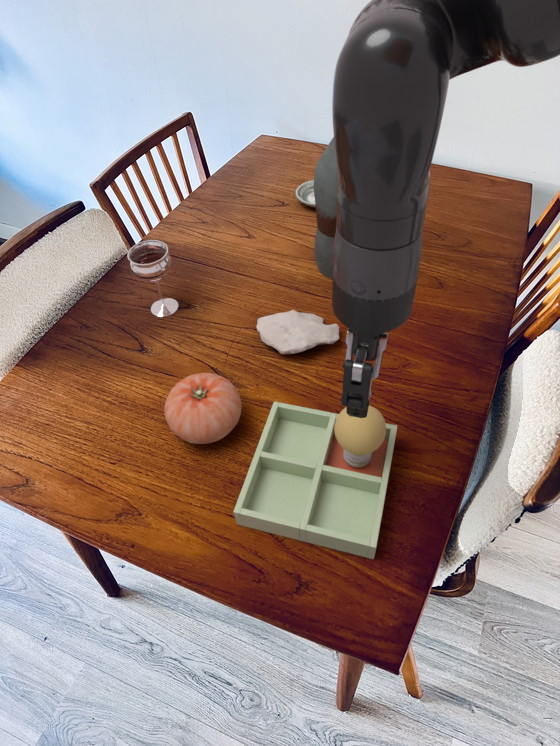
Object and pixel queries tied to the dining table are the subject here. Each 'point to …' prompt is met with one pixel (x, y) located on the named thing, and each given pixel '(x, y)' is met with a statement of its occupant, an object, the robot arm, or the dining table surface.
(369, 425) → the light bulb
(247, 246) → the dining table surface
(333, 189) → the bottle
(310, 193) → the saucer
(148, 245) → the wineglass
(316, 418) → the grid
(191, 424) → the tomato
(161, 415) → the dining table surface
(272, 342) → the decorative stone
